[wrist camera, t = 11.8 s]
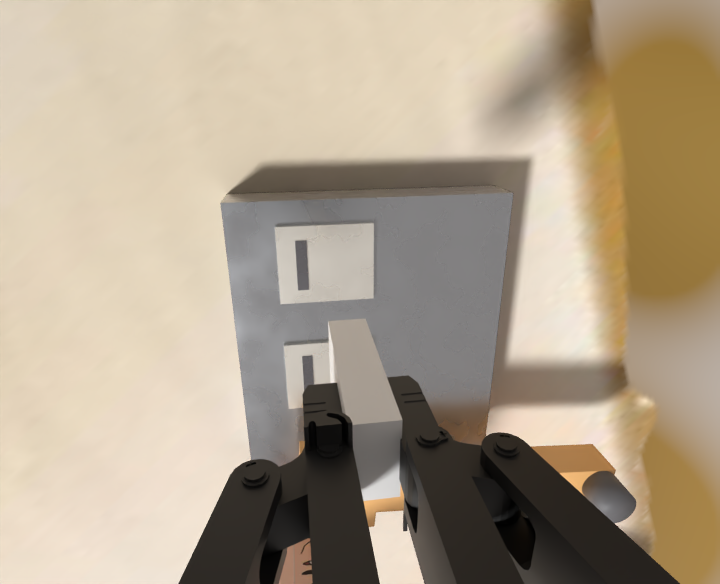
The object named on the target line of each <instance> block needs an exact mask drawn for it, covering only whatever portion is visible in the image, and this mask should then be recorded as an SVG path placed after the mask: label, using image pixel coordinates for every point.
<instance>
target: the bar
mask: <svg viewBox="0 0 720 584" xmlns="http://www.w3.org/2000/svg"><path fill="white" fill-rule="evenodd" d="M304 446H305V441H299V455H300V454H301V453H302V451H303V449H304ZM531 448H532V449H533V450H535V451H536V452H537V453H538V454H539V455H540V456H541V457H542V458H543V459H544V460H545V461H547V462H548V463H549V464H550V465H551V466H552V467H553V468H554V469H555V470H556V471H557V472H559V473H560V474H561V475H562V476H563V477H564V478H565V479H566V480H567V481H568V482H570V483H571V484H572V485H573V486H574V487H575V488H576V489H577V490H578V491H579V492H580V493H582V494H583V495H584V496H585V497H586V498H587V499H588V500H589V501H590V502H591V503H592V504H594V505H595V506H596V507H597V508H598V509H599V510H600V511H601V512H602V513H603V514H604V515H606V516H607V517H608V518H609V519H610V520H611V521H612V522H613V523H618V522H621V521H623V520H625V519H626V518H628V517H629V516H630V515H631V514H632V513H633V511H634V510H635V507H636V500H635V498H634V497H633V496H632V495H631V494H630V493H629V491H628V490H627V489H626V488H625V487H624V486H623V485H622V483H621V482H620V481H619V480H618V479H617V478H616V477H615V476H614V474H615V471H616V470H615V469H614V468H613V466H612V465H611V464H610V463H609V462H608V461H607V460H606V459H605V458H604V456H603V455H602V454H601V453H600V452H599V451H598V450H597V449H596V448H595V446H594V445H593V444H585V445H560V446H536V447H531ZM364 506H365V511H366V517H367V522H368V527H372V526H374V524H375V516H376V512H385V511H402V510H404V493H403V490H402V487H401V484H400V497H393V498H384V499H376V500H368V501H364Z"/></svg>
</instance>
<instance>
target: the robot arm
mask: <svg viewBox="0 0 720 584" xmlns="http://www.w3.org/2000/svg"><path fill="white" fill-rule="evenodd" d="M328 332H329V359H330V381H331V383H326V384H314V385H308V386H307V388H306V389H305V391H304V392H303V394H302V396H303V415H304V441H305V446H304V449H303V451H302V453H301V454H300V455H299V456H298V457H297V458H296V459H294V460H293V461H291V462H289V463H287V464H284V465H282V466H279V467H278V465H277V464H275V463H274V462H272V461H270V460H265V459H255V460H250V461H247V462H245V463H243V464H241V465H240V466H238V467H237V468H235V470H234V471H233V472H232V474H231V475H230V477H229V479H228V481H227V483H226V485H225V487H224V489H223V491H222V494H221V496H220V498H219V500H218V502H217V504H216V506H215V508H214V510H213V512H212V514H211V517H210V519H209V521H208V523H207V525H206V527H205V529H204V531H203V533H202V535H201V538H200V540H199V542H198V544H197V546H196V548H195V550H194V552H193V554H192V556H191V559H190V561H189V563H188V565H187V567H186V569H185V571H184V573H183V575H182V577H181V580H180V582H179V584H279V581H280V577H281V574H282V570H283V566H284V562H285V559H286V555H287V548H288V547H290V546H292V545H294V544H297V543H299V542H301V541H303V540H306V539H308V538H310V546H311V564H312V582H313V584H380V583H379V578H378V573H377V567H376V562H375V557H374V552H373V547H372V542H371V537H370V532H369V527H368V522H367V517H366V511H365V506H364V501H368V500H376V499H384V498H393V497H400V484H401V487H402V490H403V493H404V514H403V531H407V524H408V527H409V530H410V534H411V537H412V541H413V544H414V548H415V551H416V555H417V558H418V562H419V565H420V569H421V572H422V576H423V579H424V583H425V584H680V583H678V581H676V580H675V579H674V578H673V577H672V576H671V575H670V574H669V573H668V572H667V571H665V570H664V569H663V568H662V567H661V566H660V565H659V564H658V563H657V562H656V561H655V560H654V559H652V558H651V557H650V556H649V555H648V554H647V553H646V552H645V551H644V550H643V549H642V548H640V547H639V546H638V545H637V544H636V543H635V542H634V541H633V540H632V539H631V538H630V537H628V536H627V535H626V534H625V533H624V532H623V531H622V530H621V529H620V528H619V527H618V526H616V525H615V524H614V523H613V522H612V521H611V520H610V519H609V518H608V517H607V516H606V515H604V514H603V513H602V512H601V511H600V510H599V509H598V508H597V507H596V506H595V505H594V504H592V503H591V502H590V501H589V500H588V499H587V498H586V497H585V496H584V495H583V494H582V493H580V492H579V491H578V490H577V489H576V488H575V487H574V486H573V485H572V484H571V483H570V482H568V481H567V480H566V479H565V478H564V477H563V476H562V475H561V474H560V473H559V472H557V471H556V470H555V469H554V468H553V467H552V466H551V465H550V464H549V463H548V462H547V461H545V460H544V459H543V458H542V457H541V456H540V455H539V454H538V453H537V452H536V451H535V450H533V449H532V448H531V447H530V446H529V445H528V444H527V443H526V442H525V441H523V440H522V439H520V438H519V437H517V436H514V435H511V434H508V433H500V432H499V433H492V434H489V435H488V436H486V437H485V438H484V439H483V441H482V443H481V445H474V444H467V443H462V442H458V441H455V440H453V438H452V436H451V435H450V434H449V432H448V431H447V430H445V429H443V428H442V427H439V426H438V424H437V422H436V419H435V417H434V415H433V413H432V411H431V409H430V407H429V405H428V403H427V401H426V398H425V396H424V394H423V392H422V390H421V388H420V386H419V383H418V382H416V381H415V380H414V379H413V378H411V377H410V376H409V375H407V376H396V377H387V376H386V374H385V371H384V368H383V365H382V363H381V360H380V357H379V354H378V352H377V349H376V346H375V344H374V341H373V338H372V335H371V333H370V330H369V327H368V324H367V322H366V319H352V320H337V321H328Z"/></svg>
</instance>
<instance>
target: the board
mask: <svg viewBox="0 0 720 584" xmlns="http://www.w3.org/2000/svg"><path fill="white" fill-rule="evenodd" d="M512 201H513V193H512V192H510V191H507V190H505V189H502V188H499V187H497V186H494V185H492V186H460V187H429V188H398V189H366V190H335V191H304V192H273V193H241V194H226V196H225V197H224V199H223V200H222V202H221V210H222V219H223V227H224V236H225V244H226V252H227V261H228V269H229V278H230V286H231V294H232V303H233V311H234V320H235V328H236V336H237V345H238V353H239V362H240V370H241V378H242V387H243V395H244V404H245V412H246V420H247V429H248V437H249V446H250V454H251V460H255V459H265V460H270V461H272V462H274V463H275V464H277V465H278V467H279V466H282V465H284V464H287V463H289V462H291V461H293V460H294V459H296V458H297V457H298V456H299V441H304V415H303V396H302V394H303V392H304V391H305V389H306V388H307V386H308V385H314V384H326V383H331V381H330V359H329V332H328V321H337V320H352V319H366V322H367V324H368V327H369V330H370V333H371V335H372V338H373V341H374V344H375V346H376V349H377V352H378V354H379V357H380V360H381V363H382V365H383V368H384V371H385V374H386V376H387V377H396V376H407V375H409V376H410V377H411V378H413V379H414V380H415V381H416V382H418V383H419V386H420V388H421V390H422V392H423V394H424V396H425V398H426V401H427V403H428V405H429V407H430V409H431V411H432V413H433V415H434V417H435V419H436V422H437V424H438V426H439V427H442V428H443V429H445V430H447V431H448V432H449V434H450V435H451V436H452V438H453V440H455V441H458V442H462V443H467V444H474V445H481V443H482V441H483V439H484V438H485V436H486V428H487V419H488V410H489V401H490V393H491V384H492V375H493V367H494V358H495V349H496V340H497V332H498V323H499V314H500V305H501V297H502V288H503V279H504V270H505V262H506V253H507V244H508V236H509V227H510V218H511V209H512Z"/></svg>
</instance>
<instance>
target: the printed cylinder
mask: <svg viewBox="0 0 720 584" xmlns="http://www.w3.org/2000/svg"><path fill="white" fill-rule="evenodd" d="M279 584H313V582H312V564H311V546H310V538H308V539H306V540H303V541H301V542H299V543H297V544H294V545H292V546H290V547H288V548H287V555H286V559H285V562H284V566H283V570H282V574H281V577H280V581H279Z"/></svg>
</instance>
